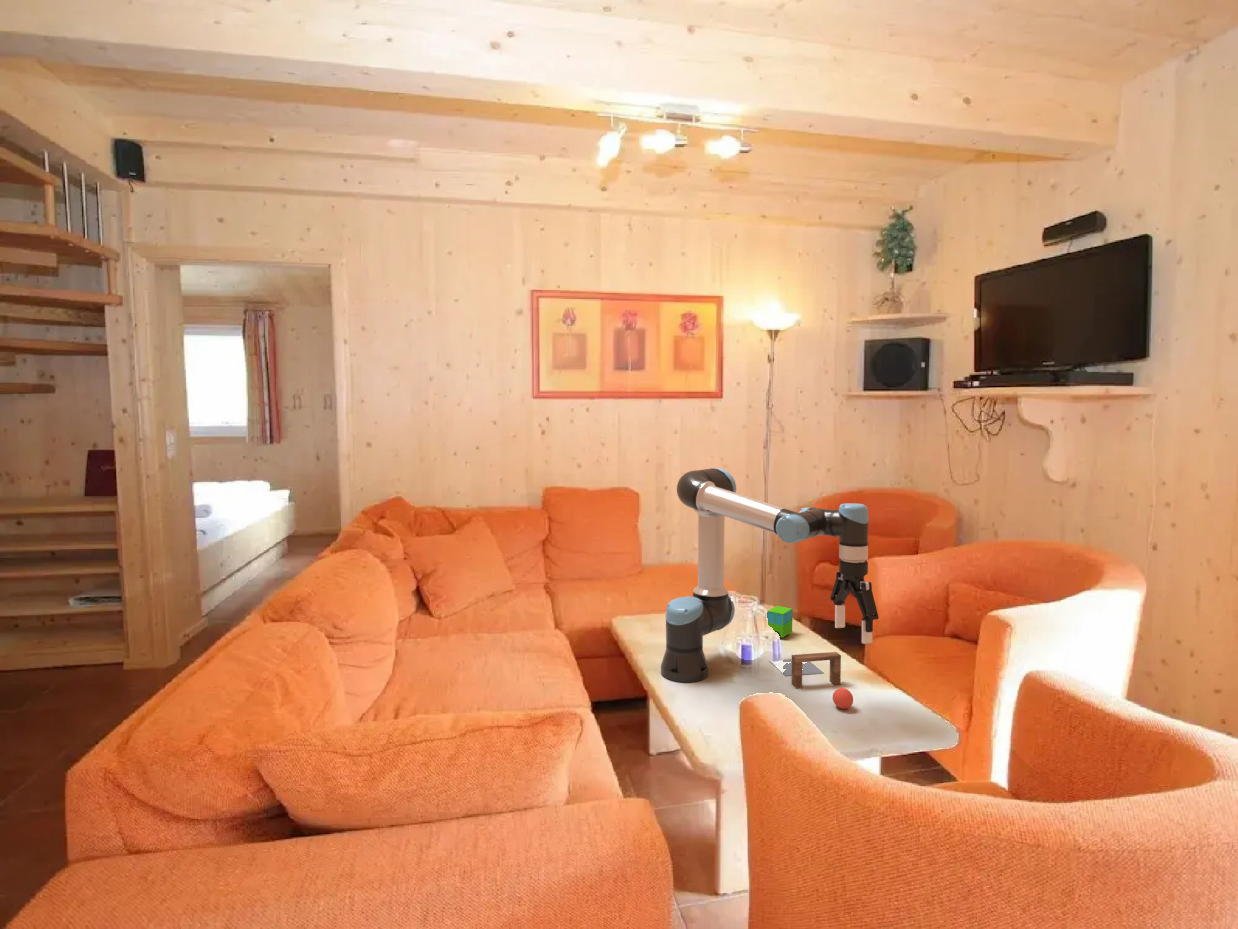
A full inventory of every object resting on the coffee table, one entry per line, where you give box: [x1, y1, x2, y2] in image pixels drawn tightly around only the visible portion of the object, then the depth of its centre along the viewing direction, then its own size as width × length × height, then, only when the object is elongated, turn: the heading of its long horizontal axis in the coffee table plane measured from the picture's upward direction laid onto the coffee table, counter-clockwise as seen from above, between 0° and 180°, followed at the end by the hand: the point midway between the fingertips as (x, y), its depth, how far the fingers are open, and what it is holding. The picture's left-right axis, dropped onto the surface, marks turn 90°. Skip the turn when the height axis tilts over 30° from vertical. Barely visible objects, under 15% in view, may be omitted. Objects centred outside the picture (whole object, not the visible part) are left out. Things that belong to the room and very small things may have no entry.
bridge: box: [790, 651, 842, 689], centre depth 196 cm, size 3×14×9 cm, turn 100°
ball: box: [832, 687, 854, 710], centre depth 180 cm, size 6×6×6 cm
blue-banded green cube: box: [766, 605, 793, 639], centre depth 242 cm, size 10×13×10 cm
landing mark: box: [782, 658, 825, 677], centre depth 210 cm, size 13×13×1 cm
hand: (852, 635), depth 179 cm, fingers open, 13 cm apart
